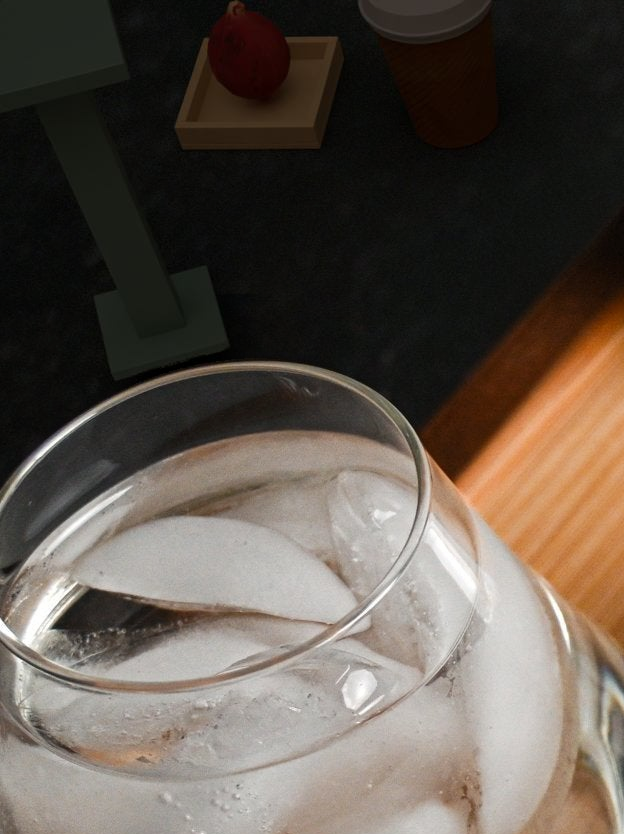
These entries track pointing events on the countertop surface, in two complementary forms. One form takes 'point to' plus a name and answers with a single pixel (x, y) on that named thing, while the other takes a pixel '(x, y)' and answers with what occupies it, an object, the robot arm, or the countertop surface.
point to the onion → (248, 53)
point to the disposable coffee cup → (440, 65)
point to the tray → (264, 103)
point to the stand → (104, 181)
